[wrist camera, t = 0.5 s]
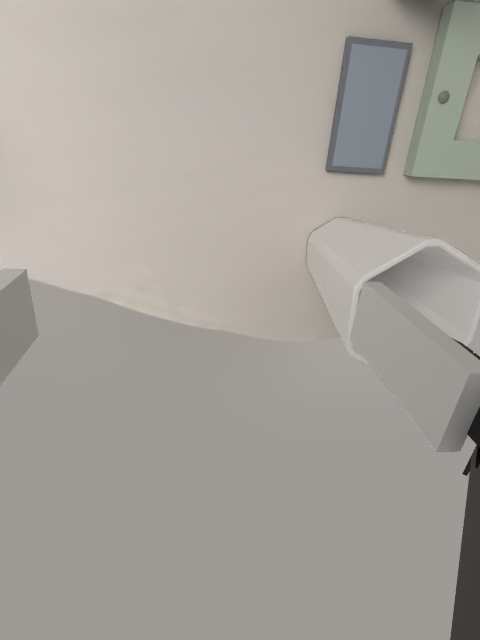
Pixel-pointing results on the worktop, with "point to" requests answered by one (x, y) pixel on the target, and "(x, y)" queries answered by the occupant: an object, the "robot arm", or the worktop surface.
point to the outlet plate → (447, 99)
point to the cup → (393, 275)
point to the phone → (367, 104)
